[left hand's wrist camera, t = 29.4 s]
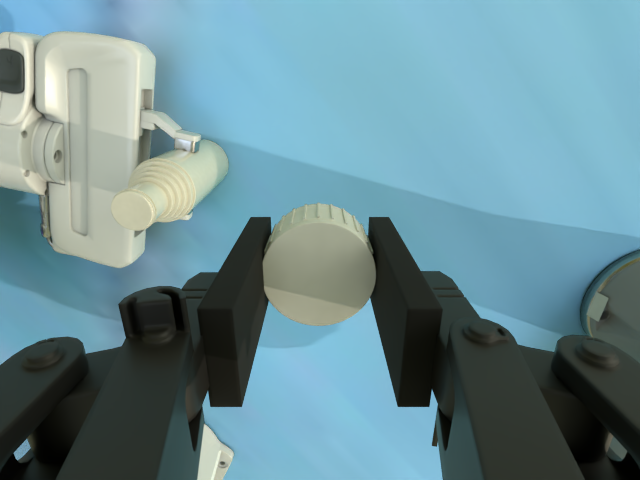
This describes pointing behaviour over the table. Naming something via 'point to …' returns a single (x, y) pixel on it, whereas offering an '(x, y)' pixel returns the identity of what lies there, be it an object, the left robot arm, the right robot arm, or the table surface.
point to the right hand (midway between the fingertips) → (194, 178)
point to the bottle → (169, 186)
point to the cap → (318, 265)
